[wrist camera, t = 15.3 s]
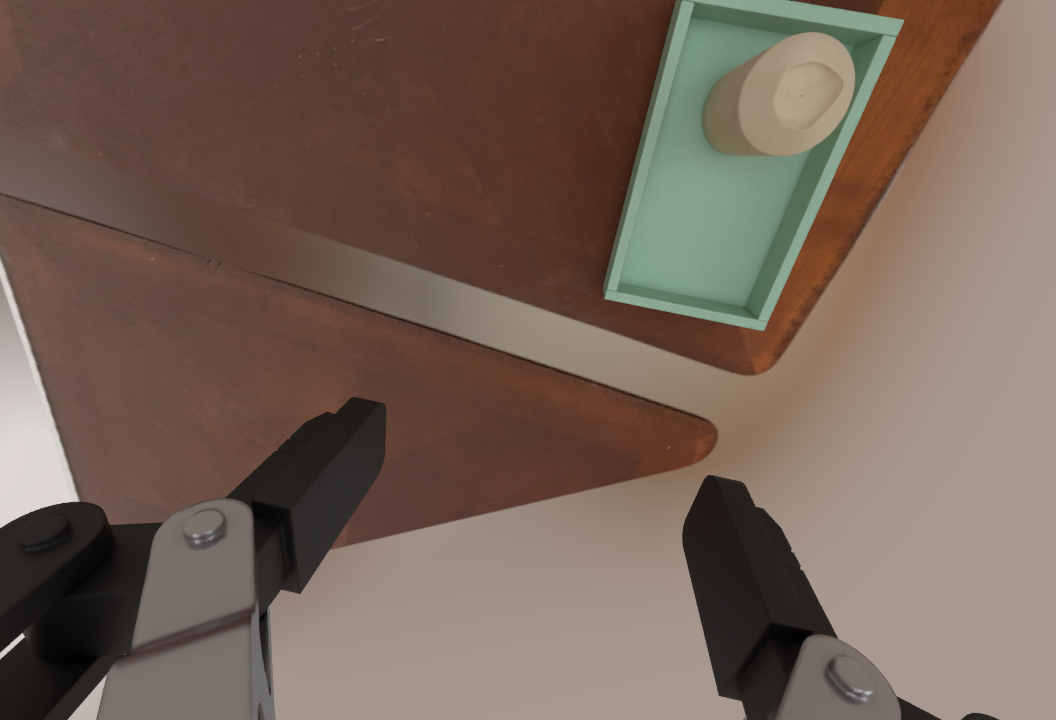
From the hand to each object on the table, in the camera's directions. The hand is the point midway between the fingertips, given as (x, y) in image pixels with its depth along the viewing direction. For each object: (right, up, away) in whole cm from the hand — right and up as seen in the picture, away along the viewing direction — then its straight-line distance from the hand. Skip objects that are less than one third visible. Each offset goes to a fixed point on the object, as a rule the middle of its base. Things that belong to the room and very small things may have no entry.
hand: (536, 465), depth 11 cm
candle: (+15, +20, +19) cm, 31 cm away
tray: (+14, +16, +22) cm, 30 cm away
